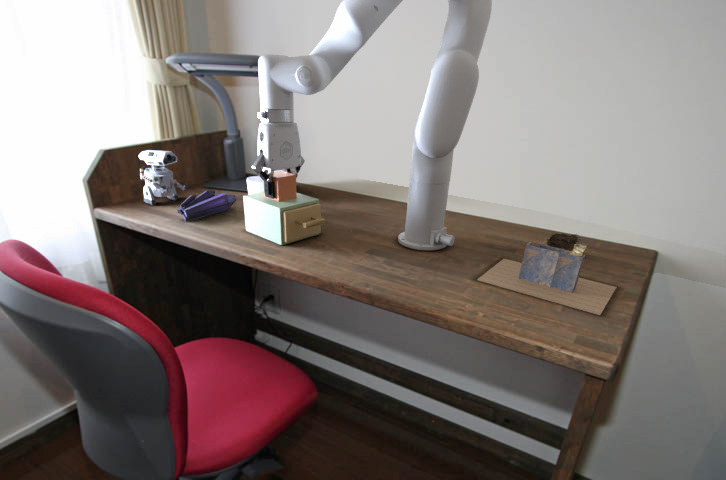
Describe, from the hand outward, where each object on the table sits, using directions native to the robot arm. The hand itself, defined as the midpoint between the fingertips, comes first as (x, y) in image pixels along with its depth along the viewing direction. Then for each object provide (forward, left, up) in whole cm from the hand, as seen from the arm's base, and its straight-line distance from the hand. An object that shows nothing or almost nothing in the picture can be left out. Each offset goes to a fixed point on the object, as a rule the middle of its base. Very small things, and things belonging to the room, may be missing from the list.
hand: (280, 194), depth 118 cm
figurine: (+44, +9, -10) cm, 46 cm away
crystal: (+26, +5, -10) cm, 28 cm away
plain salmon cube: (0, 0, -1) cm, 1 cm away
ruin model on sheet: (-62, -21, -10) cm, 67 cm away
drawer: (-4, 0, -9) cm, 10 cm away
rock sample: (-57, -44, -10) cm, 73 cm away
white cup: (+16, -6, -10) cm, 20 cm away
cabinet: (0, 0, -10) cm, 10 cm away
